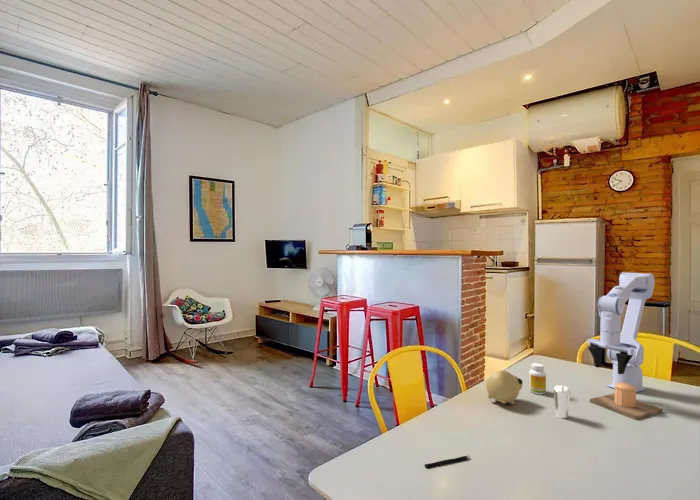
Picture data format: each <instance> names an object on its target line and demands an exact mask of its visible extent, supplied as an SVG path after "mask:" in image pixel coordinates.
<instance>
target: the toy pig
mask: <svg viewBox="0 0 700 500" xmlns="http://www.w3.org/2000/svg"><path fill="white" fill-rule="evenodd" d="M523 383H524V382H523V380H522V379H521V378H520V377H518V376H517V375H514V374H511V372H509V371H507V370H498V371H494V373H492V374H490V375H489V376H488V378H487V379H486V381H485V388H486V391H487V392H486V393H487V395H486V396H487V398H488V399H491V400H492V399H493V400H495V401H497V402H499V403H501V404H506V403H509V404H511V405H514V404H515V400H516V399H517V398H518V396H519V393H520V390H521V389H522V388H523Z"/></svg>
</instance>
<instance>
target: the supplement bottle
mask: <svg viewBox="0 0 700 500" xmlns="http://www.w3.org/2000/svg"><path fill="white" fill-rule="evenodd" d="M546 388H547V373H546V372H545V365H544V364H542V363H537V362H533V363H531V369H530V370H529V372H528V391H529V393H532V394H535V395H545V394H546V391H547V389H546Z"/></svg>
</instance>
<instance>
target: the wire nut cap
mask: <svg viewBox="0 0 700 500" xmlns="http://www.w3.org/2000/svg"><path fill="white" fill-rule="evenodd" d="M614 393H615V398H614V402H615V403H616V404H618V405H620V406H624V407H631V408H633V407H636V400H637V392H636V387H635V386H634V385H631V384H628V383H622V382H617V383H615V389H614Z"/></svg>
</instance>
